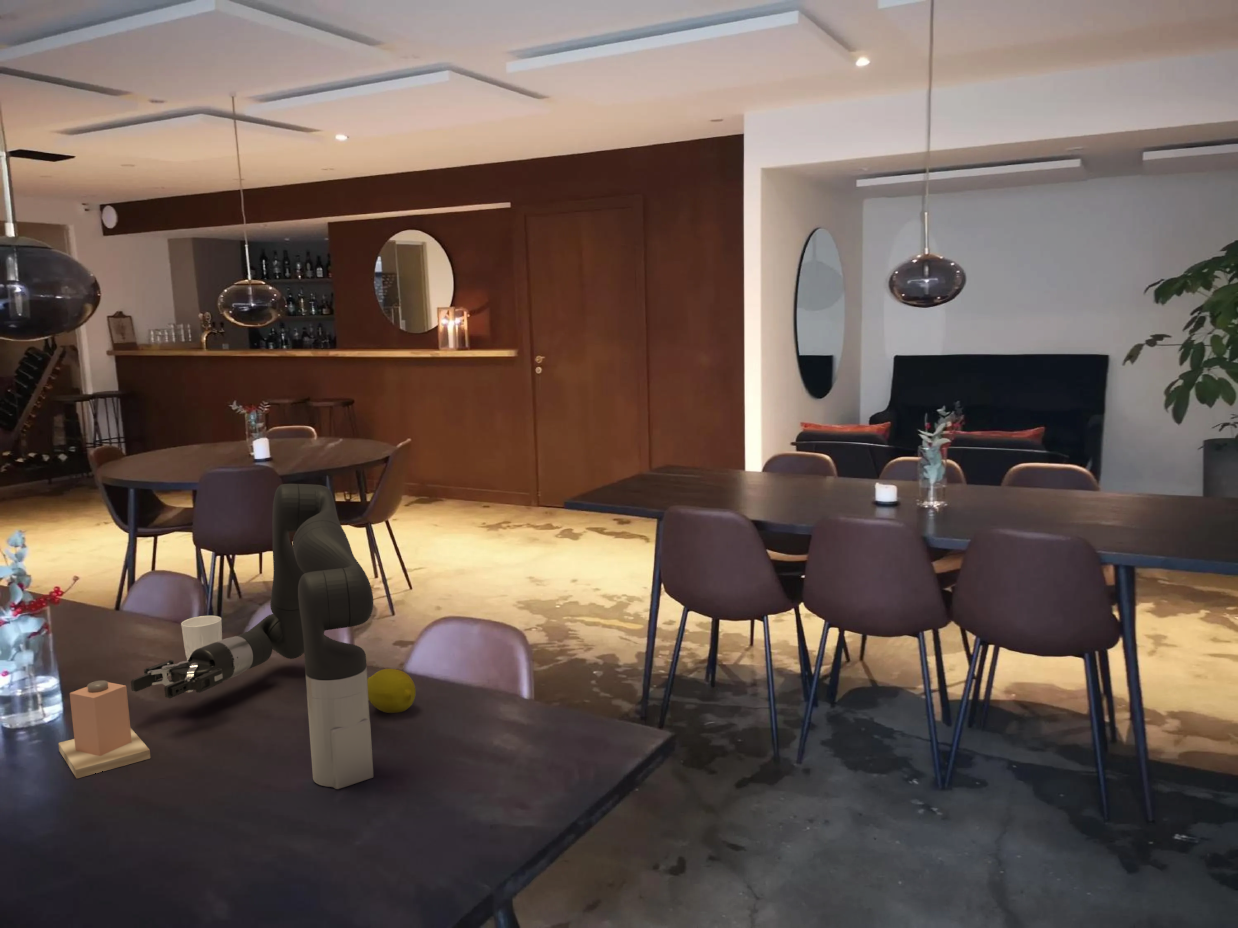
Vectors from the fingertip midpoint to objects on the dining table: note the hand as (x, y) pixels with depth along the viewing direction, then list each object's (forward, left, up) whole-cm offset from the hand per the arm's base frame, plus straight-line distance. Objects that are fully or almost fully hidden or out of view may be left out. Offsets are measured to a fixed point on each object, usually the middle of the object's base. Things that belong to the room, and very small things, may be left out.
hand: (149, 689), depth 172 cm
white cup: (+31, -18, -8) cm, 37 cm away
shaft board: (-4, +9, -8) cm, 13 cm away
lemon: (-20, -36, -8) cm, 42 cm away
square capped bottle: (-4, +9, -6) cm, 12 cm away
